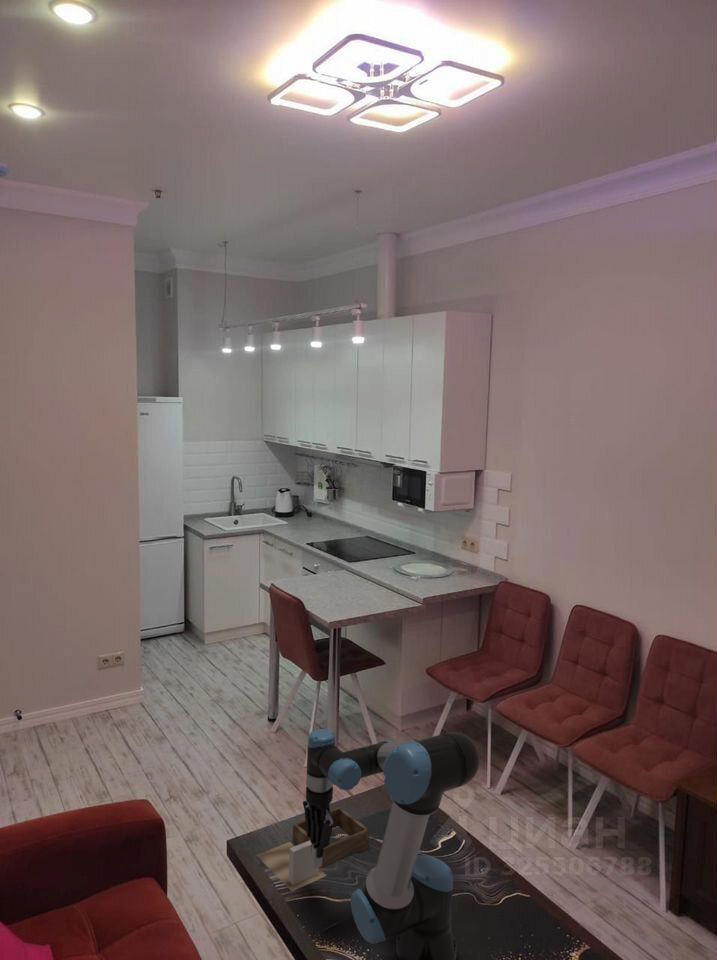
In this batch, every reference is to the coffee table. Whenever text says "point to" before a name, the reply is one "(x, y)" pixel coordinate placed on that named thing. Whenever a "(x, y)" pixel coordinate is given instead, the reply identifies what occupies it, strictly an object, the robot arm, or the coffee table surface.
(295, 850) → the block
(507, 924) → the coffee table surface
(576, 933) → the coffee table surface
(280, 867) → the plate
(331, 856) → the figurine crate
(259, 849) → the coffee table surface
